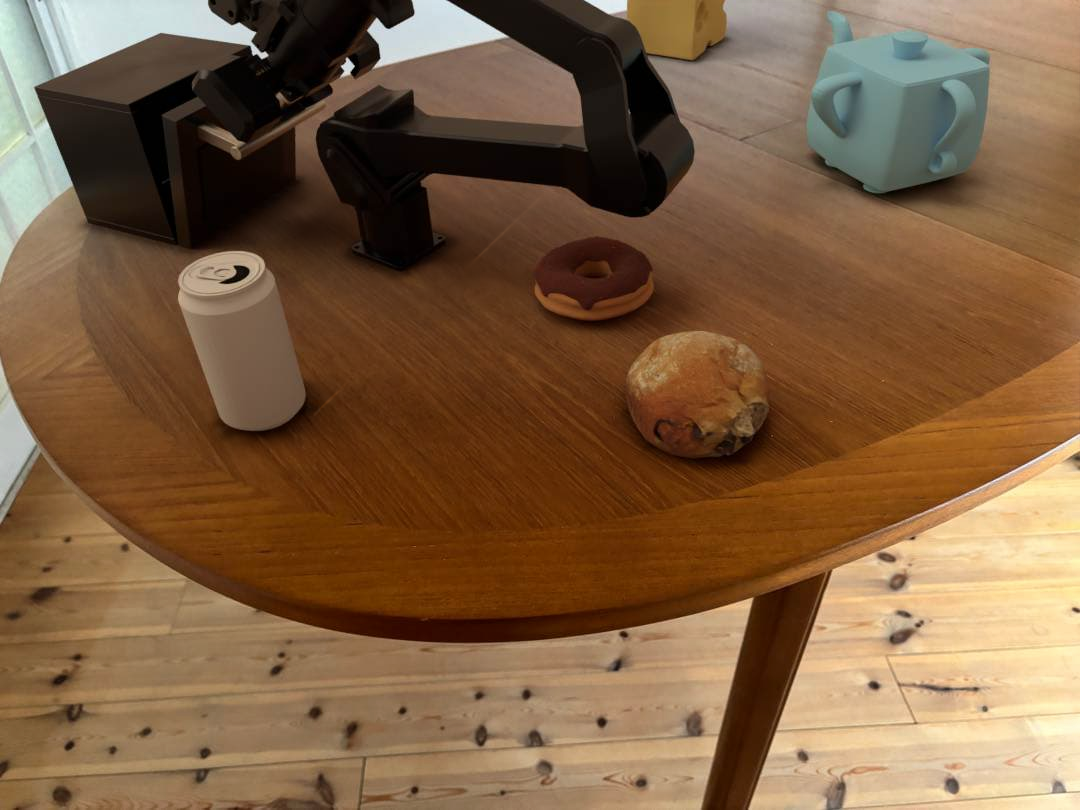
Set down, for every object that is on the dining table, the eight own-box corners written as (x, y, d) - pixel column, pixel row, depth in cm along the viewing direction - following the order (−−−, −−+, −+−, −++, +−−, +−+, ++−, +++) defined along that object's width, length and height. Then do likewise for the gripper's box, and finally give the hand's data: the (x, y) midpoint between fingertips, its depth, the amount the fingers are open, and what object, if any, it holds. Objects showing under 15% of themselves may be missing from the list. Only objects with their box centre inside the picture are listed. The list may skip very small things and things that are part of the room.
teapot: (983, 151, 96) (1020, 18, 88) (953, 219, 85) (992, 75, 77) (811, 123, 104) (830, -2, 95) (764, 183, 93) (780, 48, 84)
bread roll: (751, 421, 70) (751, 317, 68) (788, 462, 60) (789, 342, 58) (622, 428, 70) (619, 324, 68) (637, 470, 60) (634, 350, 58)
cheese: (725, 39, 127) (732, -40, 120) (692, 63, 120) (697, -18, 113) (657, 29, 131) (660, -47, 125) (622, 52, 124) (623, -27, 118)
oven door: (335, 199, 97) (338, 78, 88) (234, 272, 86) (224, 144, 77) (284, 174, 99) (281, 53, 89) (177, 244, 88) (161, 114, 78)
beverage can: (287, 442, 65) (244, 300, 58) (205, 433, 66) (153, 293, 59) (321, 387, 70) (286, 249, 62) (243, 379, 71) (200, 243, 64)
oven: (282, 177, 99) (250, 45, 90) (176, 246, 88) (128, 104, 79) (199, 159, 103) (160, 32, 94) (88, 223, 93) (33, 86, 84)
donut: (630, 258, 83) (631, 219, 80) (670, 316, 75) (673, 275, 73) (522, 278, 81) (519, 238, 78) (552, 339, 74) (550, 298, 71)
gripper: (332, -96, 78) (259, 22, 90) (175, -40, 66) (114, 89, 77) (420, 11, 81) (338, 112, 92) (285, 85, 68) (209, 192, 79)
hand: (255, 123), depth 85 cm, fingers closed, pressing on oven door
